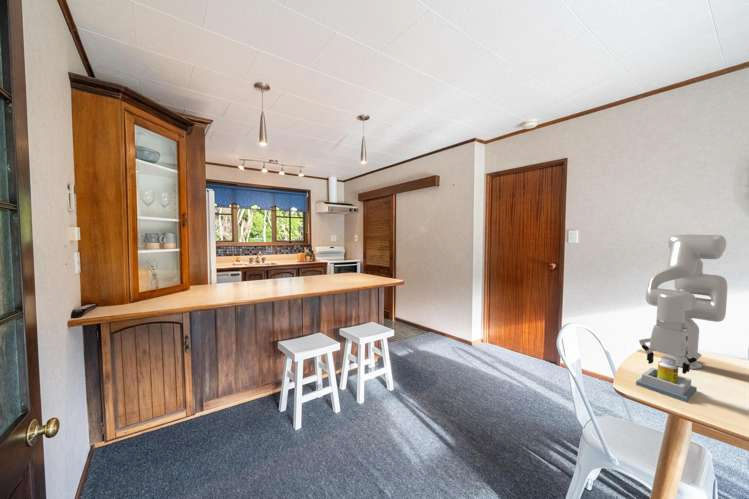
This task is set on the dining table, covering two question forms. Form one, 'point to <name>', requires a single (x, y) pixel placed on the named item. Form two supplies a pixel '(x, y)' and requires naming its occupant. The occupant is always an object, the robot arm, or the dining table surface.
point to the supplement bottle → (668, 370)
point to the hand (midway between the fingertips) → (667, 367)
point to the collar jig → (667, 385)
